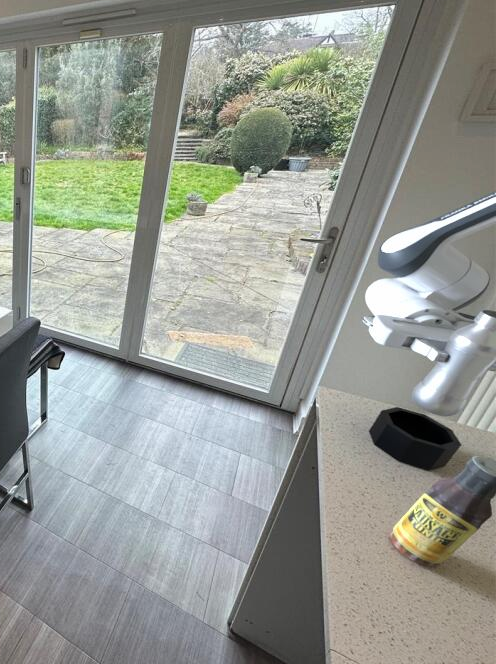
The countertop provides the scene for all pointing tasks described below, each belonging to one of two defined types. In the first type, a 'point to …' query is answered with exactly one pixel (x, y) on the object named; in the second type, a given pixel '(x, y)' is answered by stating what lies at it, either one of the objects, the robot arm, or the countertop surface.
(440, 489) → the sauce bottle
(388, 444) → the bowl
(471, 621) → the countertop surface
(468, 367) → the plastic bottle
